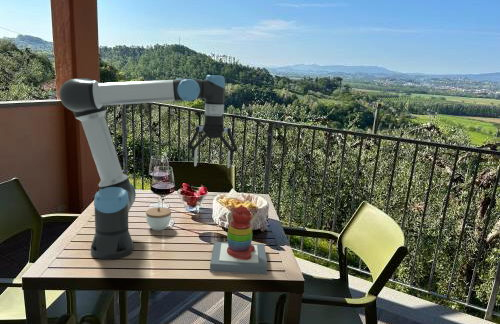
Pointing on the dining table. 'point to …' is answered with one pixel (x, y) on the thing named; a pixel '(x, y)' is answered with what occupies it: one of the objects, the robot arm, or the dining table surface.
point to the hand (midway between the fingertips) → (212, 166)
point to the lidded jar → (158, 218)
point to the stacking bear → (240, 234)
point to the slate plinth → (238, 260)
